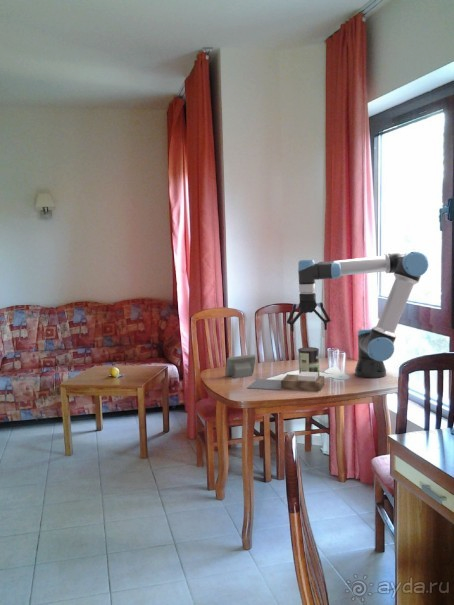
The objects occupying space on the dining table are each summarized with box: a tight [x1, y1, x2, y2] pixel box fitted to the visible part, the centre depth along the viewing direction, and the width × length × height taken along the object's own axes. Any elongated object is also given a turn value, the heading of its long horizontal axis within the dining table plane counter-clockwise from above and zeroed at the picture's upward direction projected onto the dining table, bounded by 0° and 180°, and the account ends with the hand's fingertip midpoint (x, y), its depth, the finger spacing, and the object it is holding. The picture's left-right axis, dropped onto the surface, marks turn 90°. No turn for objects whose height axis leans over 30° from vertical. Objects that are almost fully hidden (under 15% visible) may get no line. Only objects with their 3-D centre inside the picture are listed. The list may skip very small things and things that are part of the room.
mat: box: [246, 378, 282, 391], centre depth 254 cm, size 16×16×1 cm
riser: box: [280, 373, 325, 392], centre depth 248 cm, size 18×12×4 cm, turn 70°
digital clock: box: [224, 354, 256, 379], centre depth 274 cm, size 16×9×11 cm, turn 99°
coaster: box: [297, 372, 318, 381], centre depth 247 cm, size 8×8×2 cm
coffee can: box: [297, 346, 320, 376], centre depth 265 cm, size 10×10×14 cm
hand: (309, 337), depth 249 cm, fingers open, 13 cm apart
